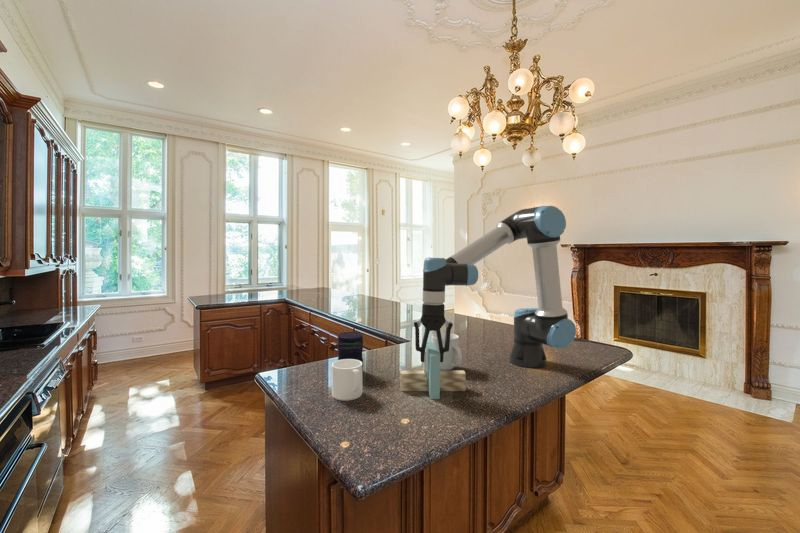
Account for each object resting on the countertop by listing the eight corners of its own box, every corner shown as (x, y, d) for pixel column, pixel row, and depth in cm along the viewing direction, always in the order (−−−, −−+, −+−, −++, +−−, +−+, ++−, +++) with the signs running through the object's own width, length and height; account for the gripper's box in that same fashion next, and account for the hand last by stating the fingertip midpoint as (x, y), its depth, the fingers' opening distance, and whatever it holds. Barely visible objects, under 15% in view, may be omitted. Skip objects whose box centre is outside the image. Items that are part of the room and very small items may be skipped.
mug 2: (471, 372, 138) (471, 339, 137) (449, 377, 132) (450, 343, 131) (446, 361, 150) (446, 331, 150) (425, 366, 144) (425, 334, 144)
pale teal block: (439, 399, 113) (440, 356, 112) (430, 399, 113) (430, 356, 112) (433, 380, 129) (434, 342, 128) (425, 380, 129) (425, 342, 128)
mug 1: (326, 393, 117) (326, 362, 117) (353, 386, 123) (353, 357, 123) (343, 406, 107) (343, 373, 107) (372, 398, 113) (372, 367, 112)
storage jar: (368, 373, 136) (368, 334, 136) (348, 379, 129) (348, 339, 128) (352, 367, 143) (352, 330, 142) (332, 373, 136) (332, 334, 135)
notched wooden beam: (463, 387, 122) (464, 370, 122) (465, 390, 119) (465, 373, 119) (400, 387, 122) (400, 370, 122) (400, 391, 119) (400, 373, 119)
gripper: (456, 302, 123) (454, 368, 124) (408, 301, 123) (406, 367, 124) (460, 305, 116) (458, 375, 117) (409, 304, 115) (407, 374, 116)
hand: (431, 371), depth 120 cm, fingers open, 4 cm apart
